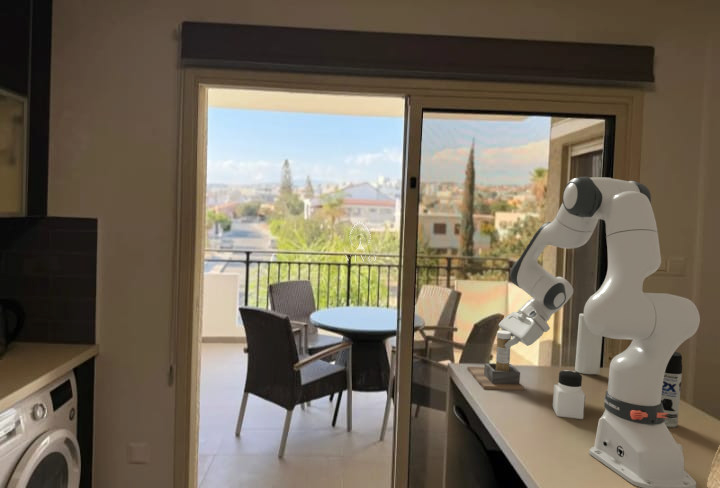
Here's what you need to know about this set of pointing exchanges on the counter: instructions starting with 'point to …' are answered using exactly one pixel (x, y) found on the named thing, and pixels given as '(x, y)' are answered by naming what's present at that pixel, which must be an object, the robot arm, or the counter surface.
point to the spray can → (672, 389)
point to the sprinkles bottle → (502, 351)
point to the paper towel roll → (587, 349)
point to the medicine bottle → (569, 395)
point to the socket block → (496, 377)
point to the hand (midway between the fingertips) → (501, 344)
